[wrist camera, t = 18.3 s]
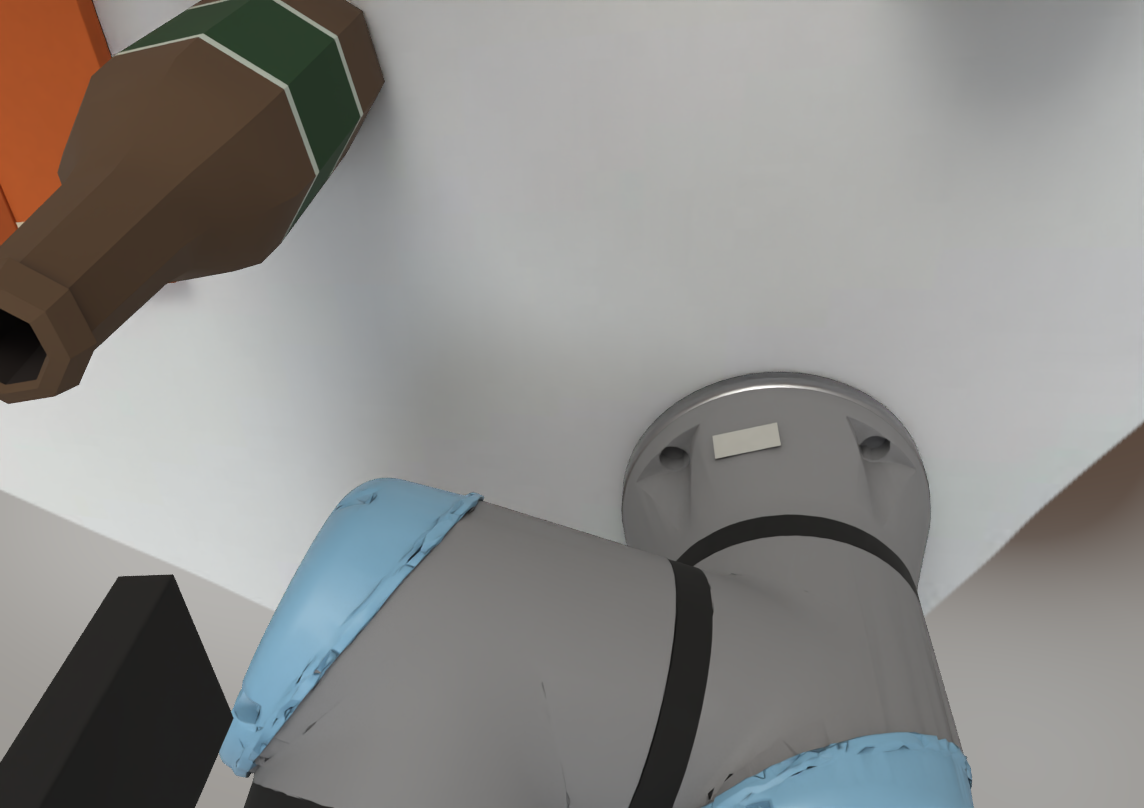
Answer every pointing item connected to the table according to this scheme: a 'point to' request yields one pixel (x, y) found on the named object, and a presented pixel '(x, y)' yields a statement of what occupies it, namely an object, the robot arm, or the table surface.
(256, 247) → the beer bottle
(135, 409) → the table surface
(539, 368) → the table surface
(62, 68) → the towel
